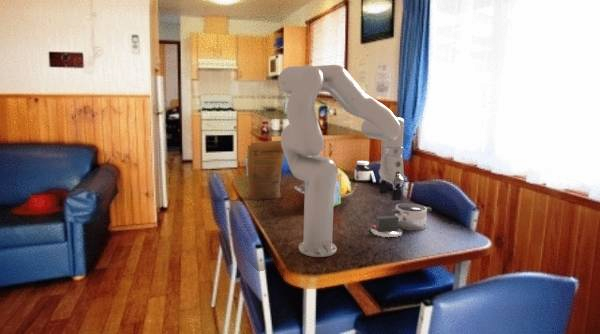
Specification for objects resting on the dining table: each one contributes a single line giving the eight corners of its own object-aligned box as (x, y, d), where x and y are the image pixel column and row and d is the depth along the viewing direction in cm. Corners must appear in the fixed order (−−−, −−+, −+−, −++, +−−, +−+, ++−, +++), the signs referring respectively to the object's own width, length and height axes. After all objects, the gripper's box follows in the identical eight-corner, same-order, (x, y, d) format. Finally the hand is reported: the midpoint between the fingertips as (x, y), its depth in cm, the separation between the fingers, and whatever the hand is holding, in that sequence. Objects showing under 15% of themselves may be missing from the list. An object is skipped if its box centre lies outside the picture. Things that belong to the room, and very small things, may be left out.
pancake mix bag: (286, 198, 197) (287, 141, 192) (248, 202, 190) (247, 142, 185) (281, 195, 204) (282, 139, 198) (244, 198, 197) (244, 140, 191)
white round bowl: (408, 237, 150) (409, 220, 149) (379, 239, 147) (380, 223, 146) (392, 226, 161) (393, 211, 160) (365, 228, 158) (366, 213, 157)
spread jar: (352, 179, 242) (353, 160, 240) (369, 178, 245) (370, 159, 243) (361, 184, 231) (362, 164, 229) (379, 183, 234) (380, 163, 232)
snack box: (331, 202, 194) (332, 171, 191) (341, 204, 190) (342, 172, 187) (303, 211, 178) (304, 178, 175) (313, 214, 174) (314, 180, 171)
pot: (437, 228, 159) (439, 210, 158) (398, 232, 154) (399, 212, 153) (420, 219, 170) (421, 201, 169) (383, 222, 166) (384, 204, 164)
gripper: (413, 154, 141) (410, 202, 144) (389, 147, 157) (387, 190, 161) (394, 155, 139) (391, 203, 142) (371, 148, 155) (370, 191, 159)
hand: (389, 196), depth 152 cm, fingers open, 9 cm apart
